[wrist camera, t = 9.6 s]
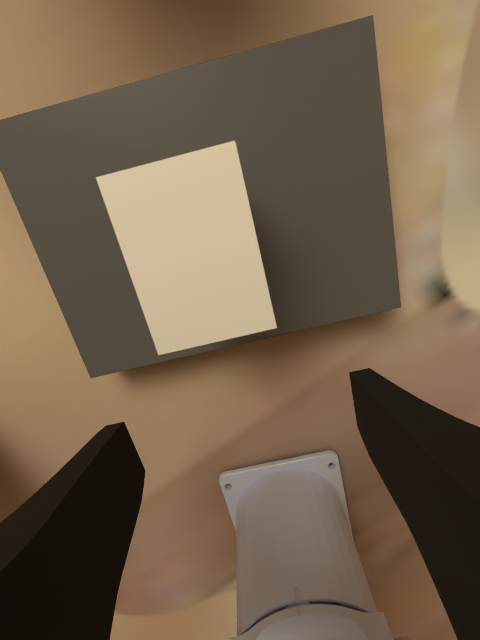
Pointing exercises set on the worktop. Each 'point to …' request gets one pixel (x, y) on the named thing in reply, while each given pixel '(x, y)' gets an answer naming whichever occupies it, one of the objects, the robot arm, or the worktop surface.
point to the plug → (191, 247)
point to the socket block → (259, 177)
